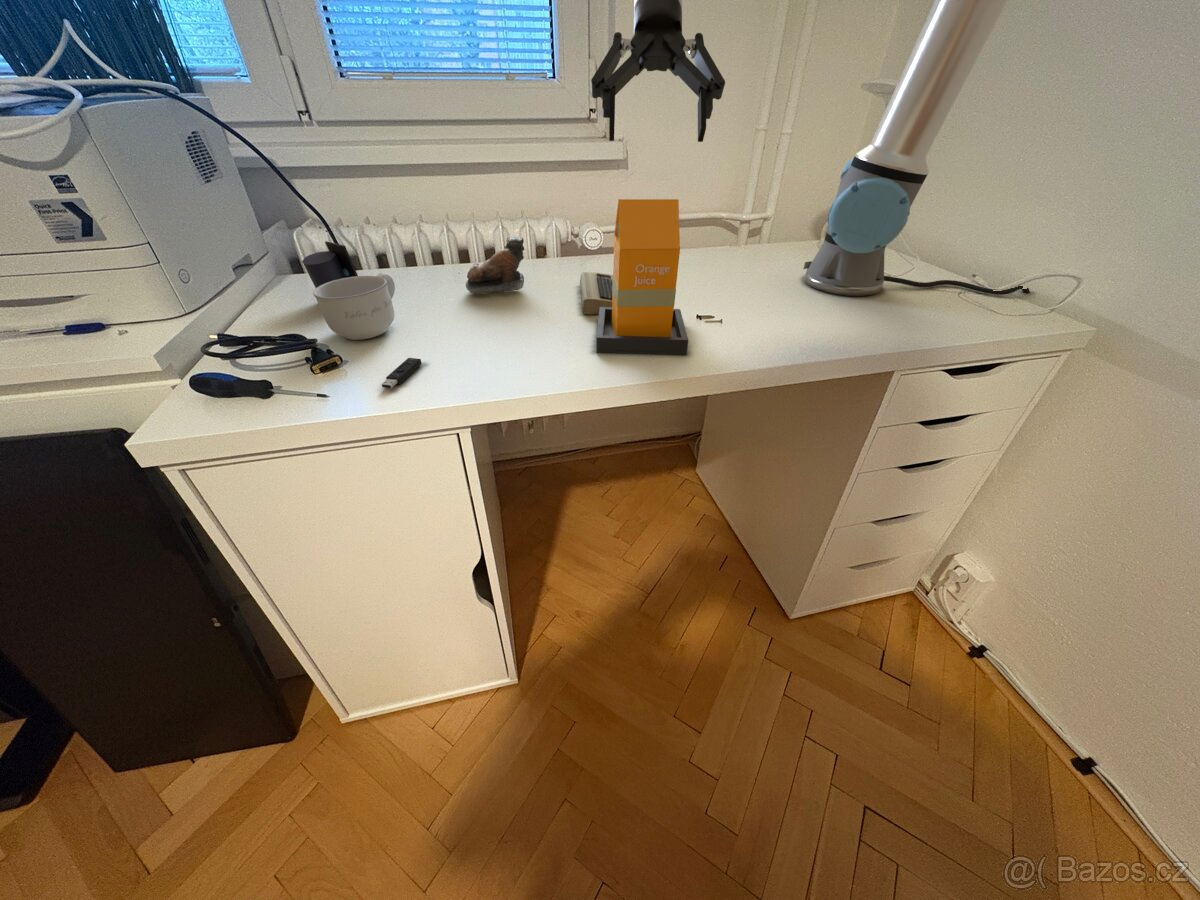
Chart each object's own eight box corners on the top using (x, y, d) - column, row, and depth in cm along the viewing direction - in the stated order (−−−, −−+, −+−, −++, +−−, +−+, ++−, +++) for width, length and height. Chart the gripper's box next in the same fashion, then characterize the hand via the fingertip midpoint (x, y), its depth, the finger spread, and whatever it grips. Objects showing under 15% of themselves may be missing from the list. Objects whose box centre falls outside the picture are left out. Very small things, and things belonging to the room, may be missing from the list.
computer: (626, 314, 87) (627, 296, 85) (582, 315, 87) (581, 297, 85) (618, 286, 100) (619, 270, 98) (579, 286, 100) (579, 270, 98)
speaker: (359, 291, 95) (338, 236, 88) (369, 300, 92) (347, 245, 84) (319, 302, 92) (294, 247, 85) (327, 313, 88) (302, 256, 81)
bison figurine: (467, 300, 93) (458, 244, 86) (466, 288, 98) (458, 235, 92) (529, 295, 95) (525, 241, 89) (525, 284, 100) (521, 232, 94)
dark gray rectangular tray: (678, 322, 85) (680, 308, 83) (686, 355, 74) (688, 340, 73) (599, 320, 85) (599, 306, 84) (596, 352, 75) (596, 337, 73)
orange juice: (611, 324, 82) (614, 194, 70) (661, 323, 83) (674, 194, 71) (615, 344, 76) (620, 204, 64) (670, 343, 77) (685, 204, 65)
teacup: (356, 352, 74) (340, 301, 69) (314, 336, 78) (296, 286, 73) (427, 323, 83) (417, 276, 78) (385, 310, 88) (374, 265, 83)
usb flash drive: (394, 390, 64) (392, 383, 64) (380, 388, 65) (378, 382, 64) (422, 364, 71) (420, 357, 70) (409, 362, 71) (408, 356, 70)
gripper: (731, 37, 79) (733, 154, 76) (580, 36, 79) (576, 152, 76) (744, -13, 72) (746, 114, 69) (577, -13, 72) (572, 112, 69)
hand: (656, 134), depth 73 cm, fingers open, 13 cm apart
